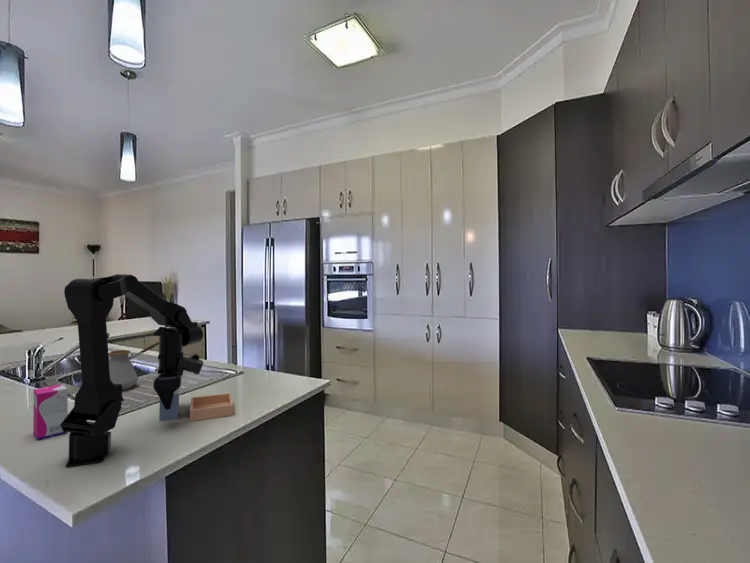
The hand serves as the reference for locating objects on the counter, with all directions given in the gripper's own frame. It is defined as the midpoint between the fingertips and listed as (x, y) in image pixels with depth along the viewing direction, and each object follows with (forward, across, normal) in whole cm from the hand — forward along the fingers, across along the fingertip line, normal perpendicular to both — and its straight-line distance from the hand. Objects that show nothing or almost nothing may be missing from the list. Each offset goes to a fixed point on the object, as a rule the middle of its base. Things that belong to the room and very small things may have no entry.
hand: (169, 403), depth 101 cm
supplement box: (+4, -1, +26) cm, 26 cm away
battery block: (+4, 0, 0) cm, 4 cm away
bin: (+4, 0, -11) cm, 12 cm away
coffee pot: (+4, +37, +14) cm, 40 cm away
